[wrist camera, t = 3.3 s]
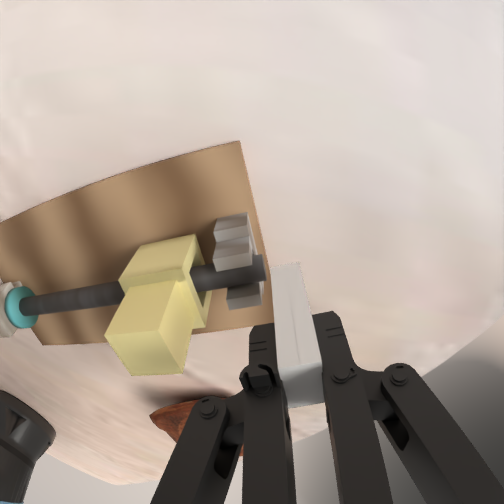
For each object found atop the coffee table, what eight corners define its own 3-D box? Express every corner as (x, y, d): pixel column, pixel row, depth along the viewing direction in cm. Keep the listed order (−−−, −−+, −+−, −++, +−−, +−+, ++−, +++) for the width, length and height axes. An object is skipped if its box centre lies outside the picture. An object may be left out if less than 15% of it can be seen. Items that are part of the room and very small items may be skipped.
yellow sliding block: (161, 295, 22) (128, 382, 15) (140, 245, 20) (90, 326, 13) (213, 286, 21) (196, 379, 14) (195, 233, 19) (163, 318, 12)
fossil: (131, 412, 27) (172, 489, 20) (173, 358, 28) (227, 433, 20) (210, 426, 36) (253, 480, 28) (248, 382, 36) (300, 435, 29)
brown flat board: (44, 341, 27) (24, 375, 23) (-17, 231, 21) (-51, 258, 16) (279, 316, 24) (284, 366, 20) (239, 140, 18) (234, 156, 13)
